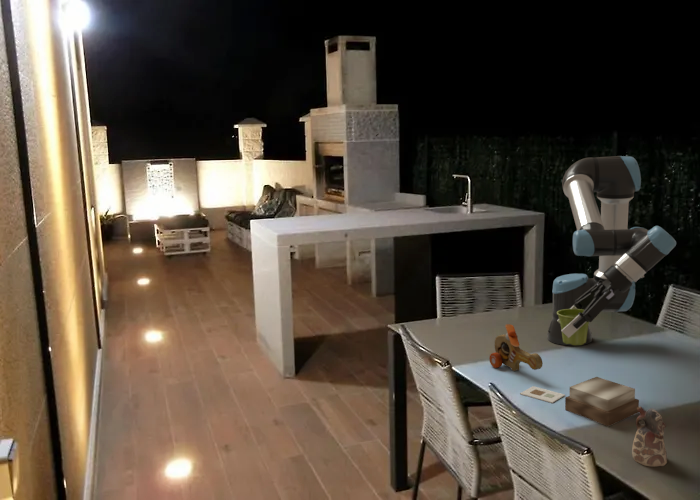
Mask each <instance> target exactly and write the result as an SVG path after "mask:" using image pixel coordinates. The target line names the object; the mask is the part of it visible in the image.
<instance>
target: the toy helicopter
mask: <svg viewBox="0 0 700 500" xmlns="http://www.w3.org/2000/svg"><path fill="white" fill-rule="evenodd" d="M504 328H505V329H506V333H505V334H499V335H497V336H496V337H495V339H494V350H495V352H491V353H490V354H489V359H488V360H489V363H490V365H491V366H492V367H493V368H495V369H499V368H501V367H502V366H503V365H504V366H506V367H508V368H510V369H511V371H514V372H516V371H519V370H520V365H521V364H520V363H521V362H522V363H523V364H526V365H528V366H529V368H531V369H532V370H534V371H536V370H540V369H542V368H543V362H544V361H543V359H542V356H541V355H540V354H539V353H537V352H535V353H530V352H528V351H526V350H523V349H522V348H520V341H519V340H518V335H517V333H516V330H515V326H514V325H512V324H511V323H506V324H505V327H504Z"/></svg>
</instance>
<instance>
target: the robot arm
mask: <svg viewBox="0 0 700 500" xmlns="http://www.w3.org/2000/svg"><path fill="white" fill-rule="evenodd" d="M641 180H642V178H641V171H640V167H639V164H638V161H637V160H636V158H634V157H633V156H629V155H628V156H627V155H625V156H624V155H623V156H622V155H617V156H616V155H615V156H600V157H599V156H596V157H584V158H582V159H579V160H577V161H575V162H574V163H573V164H571V165H570V166H569V167H568V169H567V170H566V171H565V173H564V175H563V177H562V182H561V183H562V184H561V185H562V190H563V193H564V195H565V196H566V197H567V198H568V200H569V201H568V202H569V205H570V208H571V212H572V216H573V219H574V223H575V227H576V230H575V231H574V232H573V234H572V250H573V253H574V255H575V256H578V257H579V256H580V257H583V256H584V257H587V258H588V257H598V259H599V260H598V269H596V270H595V271H594V273H593V278H592V277H591V278H590V277H589V276H588V275H587V274H586V273H569V274H562V275H560V276H557V277H556V278H555V279H554V280H553V283H552V318H551V322H550V324H549V328H548V330H547V340H548V341H549V342H551V343H553V344H557V345H563V346H573V347H575V346H578V345H572V344H566V343H564V342H563V337H562V332H563V333H564V334H565V335H566V336H567V337H568V338H569V337H570V336H572V335H573V334H574V333H575V332H576V331H577V330H578V329H579V328H580V327H582V326H583V325H584V324H585V323H586V322H588V321H589V323H591V322H593V321H594V320H595V318H596V317H598V316H599V315H600V313H601V312H614V313H618V312H627V311H629V310H630V309H631V308H632V306H633V305H634V301H635V297H636V283H637V281H638V280H640V279H643V278H645V274H647V273H648V271H650V270H651V269H652V268H654V267H655V266H656V265H657V264H658V263H659V262H661V260H662V259H664V257H666V256H667V255H669V254H670V252H671V251H672V250H673V249H674V248H675V247H676V245H677V241H676V240H675V238H674V237H673V236H672V235H671V234H669V233H668V232H667V231H666V230H665V229H664V228H663V227H661V226H659V225H655V226H653V227H652V228H650V229H647V228H645V227H643V226H642V227H640V226H633V227H631V228H628V222H629V207H630V206H629V204H630V203H629V202H630V201H631V200H633V198H634V197H635V192H639V191H640V189H641V185H642V184H641V183H642V181H641ZM594 193H596V198H597V199H598V200H599V201H600V204H601V205H600V206H601V207H600V210H599V207H598V204H597V201H596V198H595V195H594ZM563 309H582V310H584V311H583V312H582V313H581V312H580V313H578V314H579V315H578V316H577V317H575V318H574V319H573V320H572V321H571V322H570V323H569V324H568V325H567V326H566V327H564V328H563V329H562V330H561V324H560V320H559V316H558V315H557V311H559V310H563ZM592 342H593V333H592V331H591V328H590V324H589V325H588V331H587V338H586V343H584V344H582V345H581V346H585V345H588V344H589V345H590V343H592Z"/></svg>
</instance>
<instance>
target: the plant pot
mask: <svg viewBox="0 0 700 500" xmlns="http://www.w3.org/2000/svg"><path fill="white" fill-rule="evenodd" d="M583 311H584V310H582V309H563V310H559V311H557V315H558V316H559V320H560V324H561V330H562V329H563V328H564V327H566V326H567V325H568V324H569V323H570V322H571V321H572V320H573V319H574V318H575V317H577V316H578V315H579V314H578V313H580V312H581V313H582V312H583ZM588 325H589V326H590V322H589V321H588V322H586V323H585V324H584V325H583V326H582V327H580V328H579V329H578V330H577V331H576V332H575V333H574V334H573V335H572V336H570V337H569V338H568V337H567V336H566V335H565V334H564V333H563V332H562V337H563V342H564V343H566V344H572V345H577V346H583V345H582V344H584V343H586V338H587V331H588Z"/></svg>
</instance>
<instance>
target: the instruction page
mask: <svg viewBox="0 0 700 500" xmlns="http://www.w3.org/2000/svg"><path fill="white" fill-rule="evenodd" d="M520 395H522V396H525V397H529V398H533V399H536V400H539V401H543V402H546V403H549V404H550V403H551V404H554V403H555V402H557V401H559V399H561V398H563V397H566V394H564V393H560V392H556V391H553V390H549V389H545V388H542V387H537V386H535V385H533V386H531V387H528V388H527V389H525V390H523V391H522V392H520Z"/></svg>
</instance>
